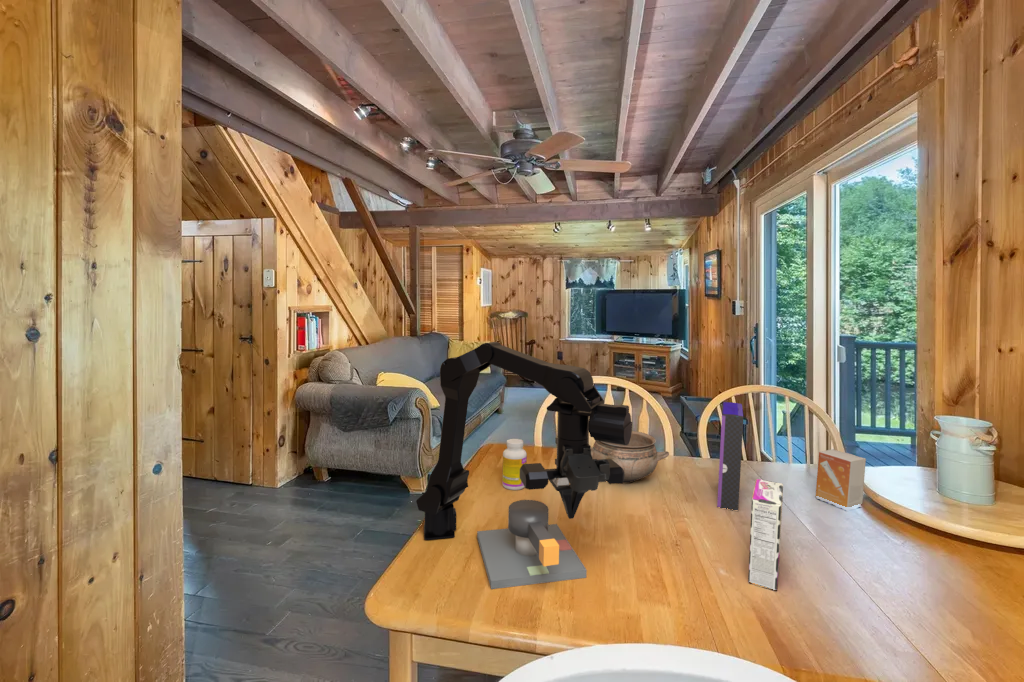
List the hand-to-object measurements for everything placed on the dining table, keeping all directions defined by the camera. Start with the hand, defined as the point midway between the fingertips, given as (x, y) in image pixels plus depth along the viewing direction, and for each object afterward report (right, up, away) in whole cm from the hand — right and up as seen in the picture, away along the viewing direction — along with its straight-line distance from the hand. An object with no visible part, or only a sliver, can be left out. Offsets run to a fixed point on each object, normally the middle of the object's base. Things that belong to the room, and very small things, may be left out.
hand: (570, 517), depth 85 cm
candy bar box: (+37, -12, +2) cm, 39 cm away
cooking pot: (+22, -8, +49) cm, 54 cm away
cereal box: (+47, -9, +37) cm, 60 cm away
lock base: (-8, -10, +6) cm, 14 cm away
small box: (+74, -10, +33) cm, 82 cm away
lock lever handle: (-6, -5, +2) cm, 8 cm away
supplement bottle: (-10, -8, +42) cm, 43 cm away
